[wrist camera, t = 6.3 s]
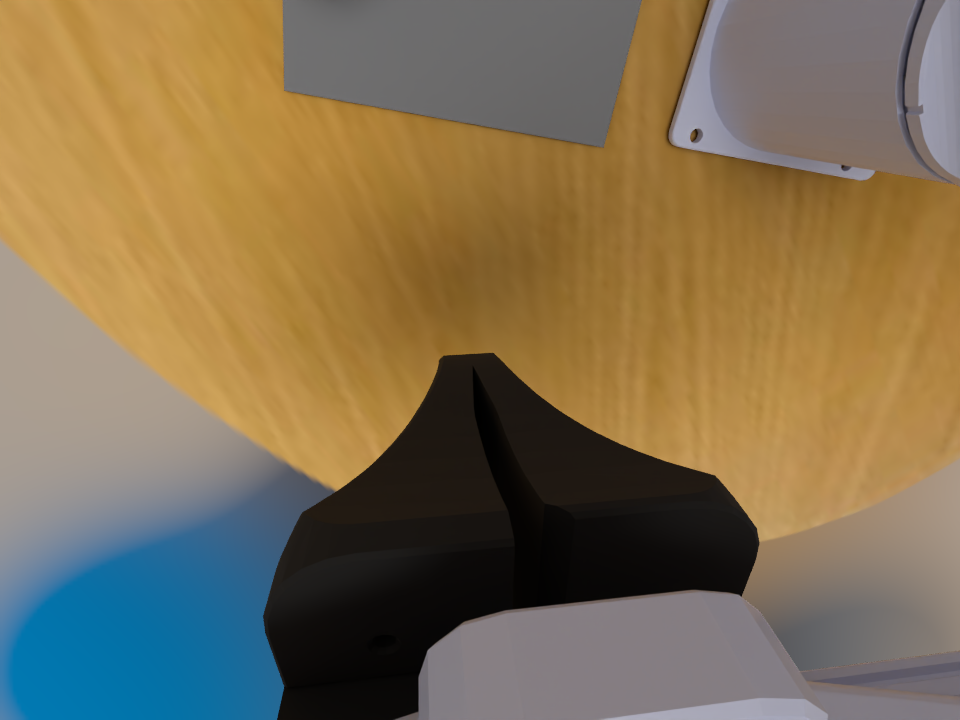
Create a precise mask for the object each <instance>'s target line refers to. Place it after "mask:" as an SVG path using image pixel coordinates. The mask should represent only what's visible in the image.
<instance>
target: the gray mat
mask: <svg viewBox="0 0 960 720" xmlns="http://www.w3.org/2000/svg"><path fill="white" fill-rule="evenodd" d="M641 1H642V0H283V40H284V91H290V92H296V93H301V94H307V95H312V96H318V97H324V98H329V99H335V100H340V101H346V102H352V103H357V104H363V105H368V106H374V107H380V108H385V109H391V110H396V111H402V112H408V113H413V114H419V115H424V116H430V117H436V118H441V119H447V120H452V121H458V122H463V123H469V124H475V125H480V126H486V127H491V128H497V129H503V130H508V131H514V132H519V133H525V134H531V135H536V136H542V137H547V138H553V139H559V140H564V141H570V142H575V143H581V144H587V145H592V146H598V147H603V148H604V144H605V140H606V136H607V132H608V128H609V124H610V121H611V117H612V113H613V109H614V105H615V101H616V98H617V94H618V90H619V86H620V82H621V78H622V74H623V71H624V67H625V63H626V59H627V55H628V51H629V47H630V44H631V40H632V36H633V32H634V28H635V24H636V21H637V17H638V13H639V9H640V5H641Z"/></svg>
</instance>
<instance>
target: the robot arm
mask: <svg viewBox="0 0 960 720" xmlns="http://www.w3.org/2000/svg"><path fill="white" fill-rule="evenodd" d="M695 129H697V131H698V136H697V138H696V140H694V141H693V142H691V140H690V134H691V133H692V131H693V130H695ZM669 141H670V142H671V144H672V145H674V146H676V147H681V148H686V149H692V150H697V151H703V152H708V153H714V154H719V155H724V156H730V157H735V158H741V159H746V160H752V161H757V162H762V163H768V164H773V165H779V166H784V167H790V168H795V169H800V170H806V171H811V172H817V173H822V174H828V175H833V176H838V177H844V178H849V179H855V180H860V181H861V180H866V179H869V178H870V177H871V176H872V175H873V174H874V173H875V171H880V172H886V173H892V174H897V175H903V176H909V177H915V178H921V179H926V180H932V181H938V182H944V183H950V184H956V185H958V186H959V187H960V0H710V2H709V5H708V8H707V12H706V15H705V18H704V21H703V24H702V28H701V31H700V34H699V37H698V40H697V44H696V47H695V50H694V53H693V56H692V60H691V63H690V66H689V69H688V72H687V76H686V79H685V82H684V85H683V88H682V92H681V95H680V98H679V101H678V104H677V108H676V111H675V114H674V117H673V120H672V124H671V127H670V130H669ZM841 165H845V166H844V167H843V168H842V169H841ZM758 547H759V538H758V533H757V528H756V527H755V525H754V524H753V523H752V521H751V520H750V518H749V517H748V515H747V514H746V513H745V511H744V510H743V509H742V507H741V506H740V505H739V503H738V502H737V501H736V500H735V498H734V497H733V496H732V494H731V493H730V492H729V491H728V490H727V488H726V487H725V486H724V485H723V484H722V483H721V482H720V480H719V479H718V478H717V477H716V476H715V475H711V474H708V473H704V472H701V471H697V470H693V469H690V468H686V467H683V466H679V465H676V464H672V463H669V462H666V461H663V460H660V459H657V458H654V457H652V456H649V455H646V454H644V453H641V452H638V451H635V450H633V449H631V448H628V447H626V446H623V445H621V444H619V443H617V442H615V441H613V440H610V439H608V438H606V437H604V436H602V435H600V434H598V433H596V432H594V431H592V430H590V429H588V428H587V427H585V426H583V425H581V424H580V423H578V422H577V421H575V420H573V419H572V418H570V417H568V416H567V415H565V414H563V413H562V412H561V411H559V410H558V409H556V408H555V407H553V406H552V405H551V404H549V403H548V402H547V401H545V400H544V399H543V398H541V397H540V396H539V395H538V394H536V393H535V392H534V391H533V390H532V389H531V388H529V387H528V386H527V385H526V384H525V383H524V382H523V381H522V380H520V379H519V378H518V377H517V376H516V375H515V374H514V373H513V372H512V371H511V370H510V369H509V368H508V367H507V366H506V365H505V364H504V363H503V362H502V361H501V360H500V359H499V358H498V357H497V356H496V355H495V354H494V353H482V354H465V355H448V356H443V357H442V358H441V359H440V360H439V366H438V370H437V373H436V375H435V378H434V380H433V383H432V385H431V387H430V389H429V391H428V393H427V395H426V397H425V399H424V400H423V402H422V404H421V405H420V407H419V408H418V410H417V412H416V413H415V415H414V416H413V418H412V419H411V421H410V422H409V424H408V425H407V426H406V428H405V429H404V430H403V432H402V433H401V434H400V435H399V436H398V438H397V439H396V440H395V441H394V442H393V443H392V445H391V446H390V447H389V448H388V449H387V450H386V451H385V452H384V453H383V454H382V455H381V456H380V457H379V458H378V459H377V460H376V461H375V462H374V463H373V464H372V465H371V466H370V467H368V468H367V469H366V470H365V471H364V472H362V473H361V474H360V475H359V476H357V477H356V478H355V479H353V480H352V481H351V482H349V483H348V484H347V485H345V486H344V487H342V488H341V489H340V490H338V491H336V492H335V493H333V494H332V495H330V496H329V497H327V498H325V499H324V500H322V501H321V502H319V503H318V504H316V505H314V506H313V507H311V508H309V509H307V510H306V511H304V512H303V513H302V514H301V516H300V517H299V519H298V521H297V523H296V525H295V527H294V530H293V532H292V534H291V536H290V537H289V540H288V542H287V545H286V547H285V549H284V551H283V553H282V555H281V558H280V561H279V563H278V566H277V568H276V572H275V575H274V579H273V582H272V586H271V590H270V594H269V597H268V601H267V604H266V608H265V611H264V615H263V618H264V626H265V633H266V636H267V639H268V642H269V645H270V647H271V650H272V653H273V656H274V659H275V662H276V664H277V667H278V670H279V673H280V676H281V678H282V681H283V684H284V691H283V696H282V700H281V704H280V710H279V713H278V718H277V720H960V651H954V652H946V653H938V654H931V655H923V656H916V657H908V658H900V659H892V660H885V661H877V662H870V663H861V664H854V665H846V666H839V667H831V668H823V669H815V670H808V671H799V670H798V668H797V667H796V665H795V664H794V662H793V661H792V659H791V658H790V656H789V655H788V653H787V652H786V650H785V649H784V647H783V646H782V644H781V642H780V641H779V639H778V638H777V636H776V635H775V633H774V632H773V630H772V629H771V627H770V626H769V624H768V623H767V621H766V620H765V618H764V617H763V615H762V614H761V612H760V611H759V610H757V609H756V608H755V607H753V606H752V605H751V604H750V603H748V602H747V601H746V600H745V599H743V598H742V594H743V591H744V589H745V586H746V584H747V581H748V578H749V576H750V573H751V571H752V568H753V566H754V563H755V560H756V557H757V552H758Z"/></svg>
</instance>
